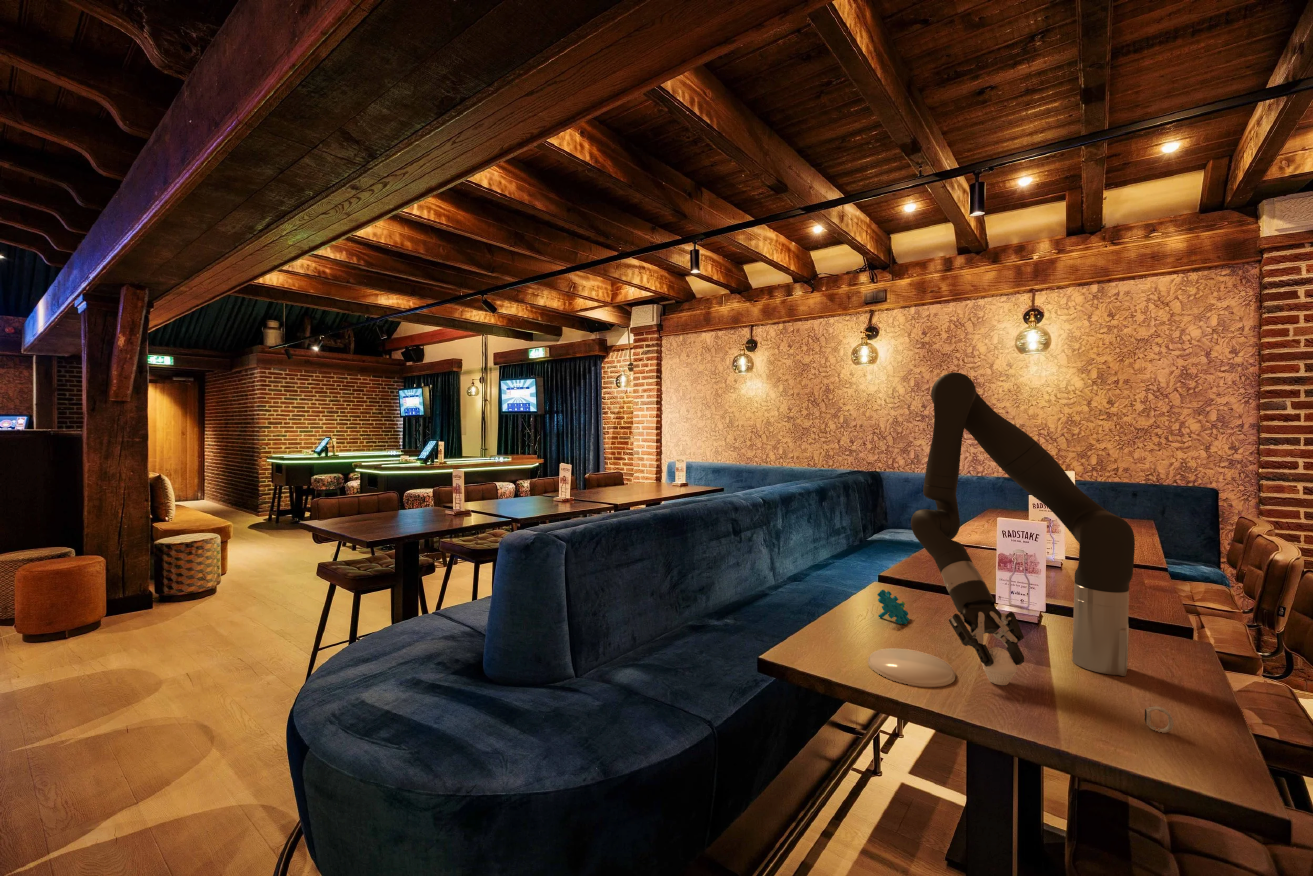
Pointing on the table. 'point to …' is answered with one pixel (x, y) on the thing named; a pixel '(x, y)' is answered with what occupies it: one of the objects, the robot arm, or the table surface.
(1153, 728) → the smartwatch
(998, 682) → the muffin
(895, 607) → the teal knobbly lump
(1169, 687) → the table surface
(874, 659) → the plate
